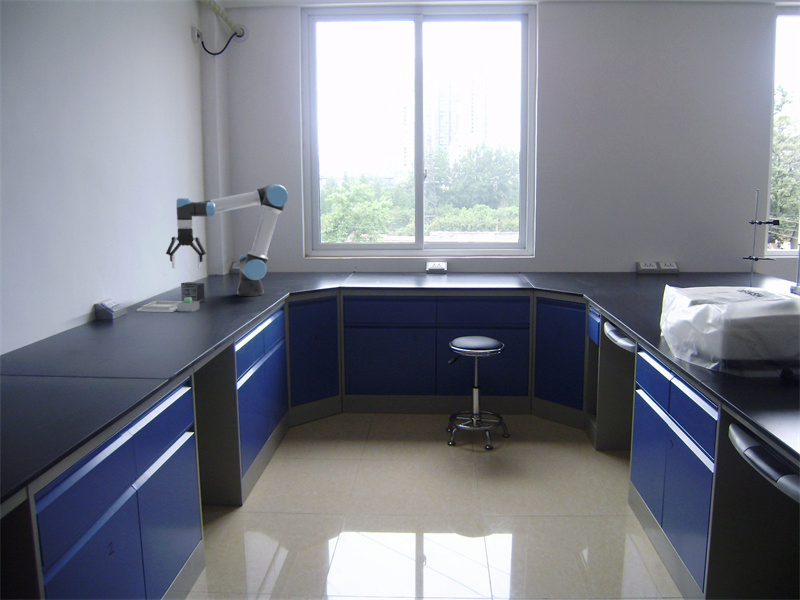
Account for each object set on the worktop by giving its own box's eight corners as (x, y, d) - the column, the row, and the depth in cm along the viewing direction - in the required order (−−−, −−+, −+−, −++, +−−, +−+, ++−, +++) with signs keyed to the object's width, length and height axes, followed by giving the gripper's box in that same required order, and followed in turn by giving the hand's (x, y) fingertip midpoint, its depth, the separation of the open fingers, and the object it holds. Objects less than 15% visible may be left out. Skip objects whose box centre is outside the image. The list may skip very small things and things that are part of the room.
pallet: (187, 305, 321) (187, 301, 321) (172, 312, 303) (172, 307, 303) (153, 304, 322) (152, 300, 322) (136, 311, 304) (136, 306, 304)
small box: (205, 302, 333) (205, 282, 332) (198, 303, 327) (197, 284, 326) (189, 300, 337) (188, 281, 335) (181, 302, 331) (180, 282, 329)
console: (199, 308, 314) (199, 300, 313) (193, 311, 306) (193, 303, 305) (183, 308, 314) (183, 300, 314) (177, 311, 306) (177, 303, 306)
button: (193, 305, 311) (192, 297, 311) (190, 306, 308) (190, 298, 307) (186, 305, 312) (185, 297, 311) (183, 306, 308) (183, 298, 307)
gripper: (210, 227, 332) (212, 267, 336) (163, 227, 332) (165, 266, 335) (206, 228, 325) (208, 269, 328) (158, 227, 324) (160, 268, 328)
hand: (186, 268), depth 332 cm, fingers open, 13 cm apart
